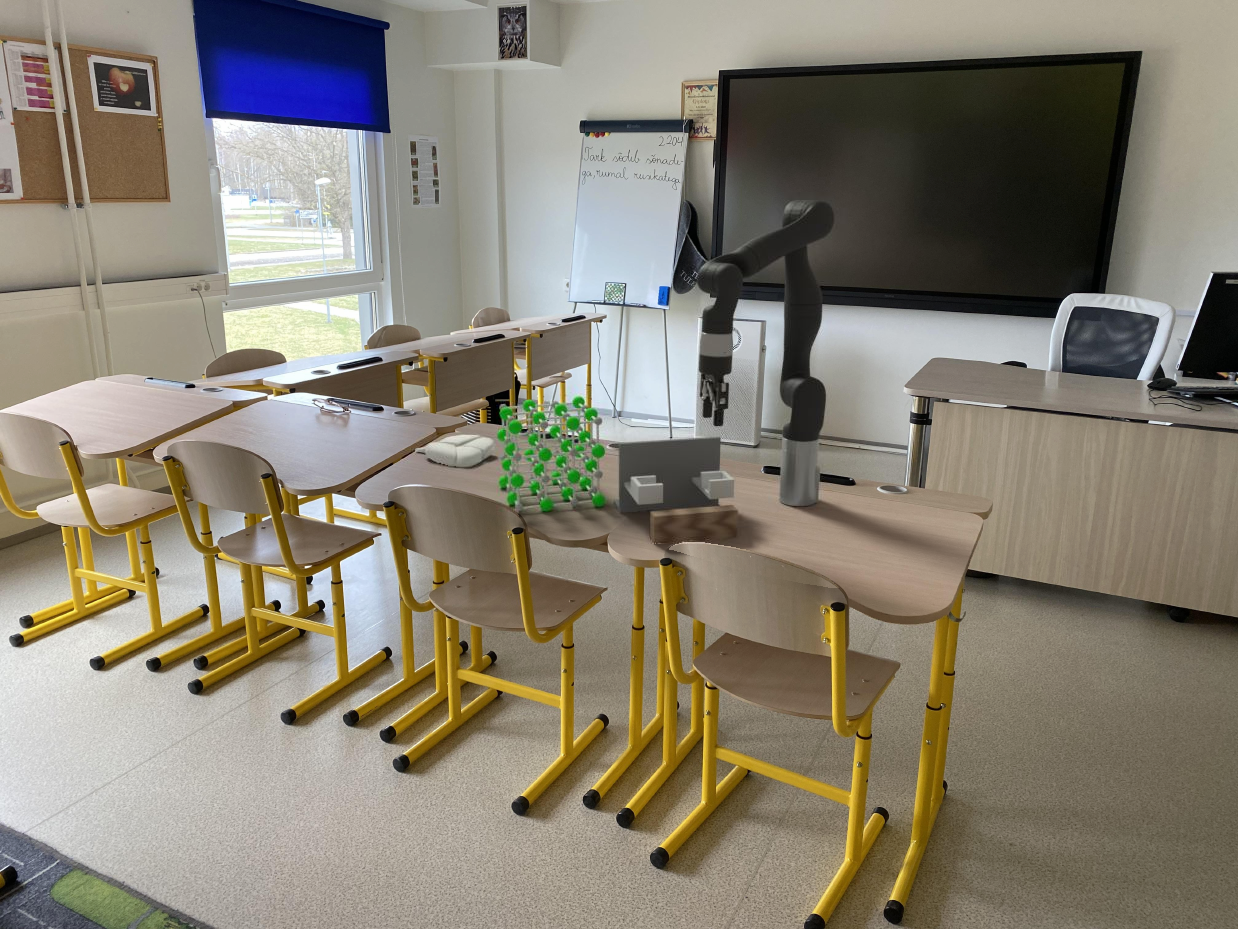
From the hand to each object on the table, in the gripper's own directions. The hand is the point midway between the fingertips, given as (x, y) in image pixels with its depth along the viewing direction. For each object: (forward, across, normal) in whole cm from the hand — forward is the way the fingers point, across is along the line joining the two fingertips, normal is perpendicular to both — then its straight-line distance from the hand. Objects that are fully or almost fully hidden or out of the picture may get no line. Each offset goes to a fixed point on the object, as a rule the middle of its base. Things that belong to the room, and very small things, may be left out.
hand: (712, 421), depth 213 cm
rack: (+26, +11, +5) cm, 29 cm away
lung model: (+28, +74, +59) cm, 98 cm away
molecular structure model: (+27, +30, +34) cm, 53 cm away
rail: (+26, -6, +5) cm, 28 cm away
